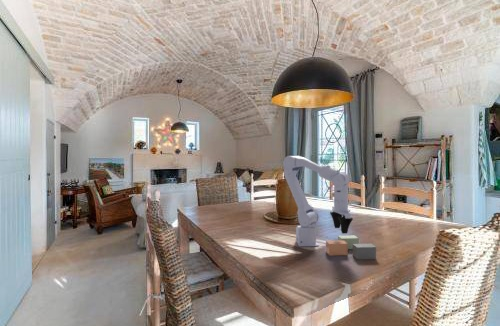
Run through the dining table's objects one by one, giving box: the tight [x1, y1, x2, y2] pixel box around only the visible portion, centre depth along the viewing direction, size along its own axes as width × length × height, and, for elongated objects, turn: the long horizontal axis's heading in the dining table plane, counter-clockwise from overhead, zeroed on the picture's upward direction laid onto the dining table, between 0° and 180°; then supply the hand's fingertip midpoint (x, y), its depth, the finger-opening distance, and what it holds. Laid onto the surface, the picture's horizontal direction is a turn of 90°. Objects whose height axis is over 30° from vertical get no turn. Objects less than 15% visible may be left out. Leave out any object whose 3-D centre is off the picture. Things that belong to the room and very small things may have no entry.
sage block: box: [337, 234, 360, 250], centre depth 115 cm, size 8×4×5 cm, turn 92°
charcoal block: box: [352, 243, 377, 260], centre depth 104 cm, size 8×4×5 cm, turn 92°
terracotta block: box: [325, 240, 349, 256], centre depth 108 cm, size 8×4×5 cm, turn 92°
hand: (340, 230), depth 109 cm, fingers open, 7 cm apart
